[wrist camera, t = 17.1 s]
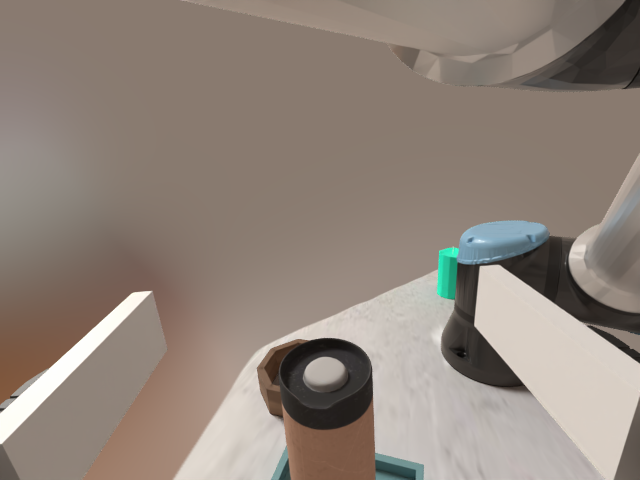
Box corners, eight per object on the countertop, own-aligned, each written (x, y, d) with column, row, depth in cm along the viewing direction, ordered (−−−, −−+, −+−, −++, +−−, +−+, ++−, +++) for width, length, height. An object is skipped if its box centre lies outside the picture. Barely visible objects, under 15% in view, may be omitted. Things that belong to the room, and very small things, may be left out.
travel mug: (344, 476, 37) (335, 326, 31) (393, 542, 31) (394, 371, 25) (285, 521, 33) (261, 360, 27) (328, 606, 27) (309, 423, 21)
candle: (458, 286, 80) (461, 241, 76) (467, 298, 75) (472, 249, 71) (433, 287, 81) (435, 242, 77) (441, 299, 75) (444, 251, 71)
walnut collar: (346, 367, 55) (345, 345, 54) (325, 426, 45) (323, 400, 43) (282, 357, 59) (279, 336, 58) (249, 408, 49) (245, 384, 47)
